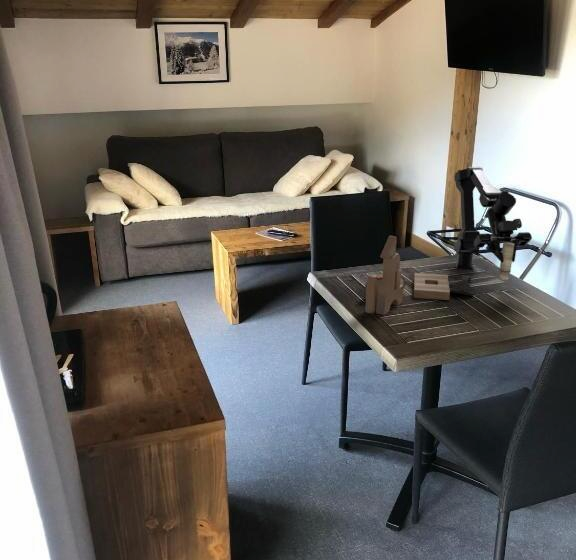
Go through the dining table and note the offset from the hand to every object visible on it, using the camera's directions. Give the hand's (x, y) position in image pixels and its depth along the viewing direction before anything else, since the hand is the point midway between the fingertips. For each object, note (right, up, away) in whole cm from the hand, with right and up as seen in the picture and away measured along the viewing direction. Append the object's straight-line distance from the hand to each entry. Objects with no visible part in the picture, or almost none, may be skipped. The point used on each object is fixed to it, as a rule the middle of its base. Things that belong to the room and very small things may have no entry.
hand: (508, 261), depth 196 cm
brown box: (-23, -10, +13) cm, 28 cm away
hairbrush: (-10, -9, +16) cm, 21 cm away
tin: (-41, -12, +7) cm, 43 cm away
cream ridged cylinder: (0, -6, +4) cm, 7 cm away
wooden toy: (-43, -16, -2) cm, 46 cm away
